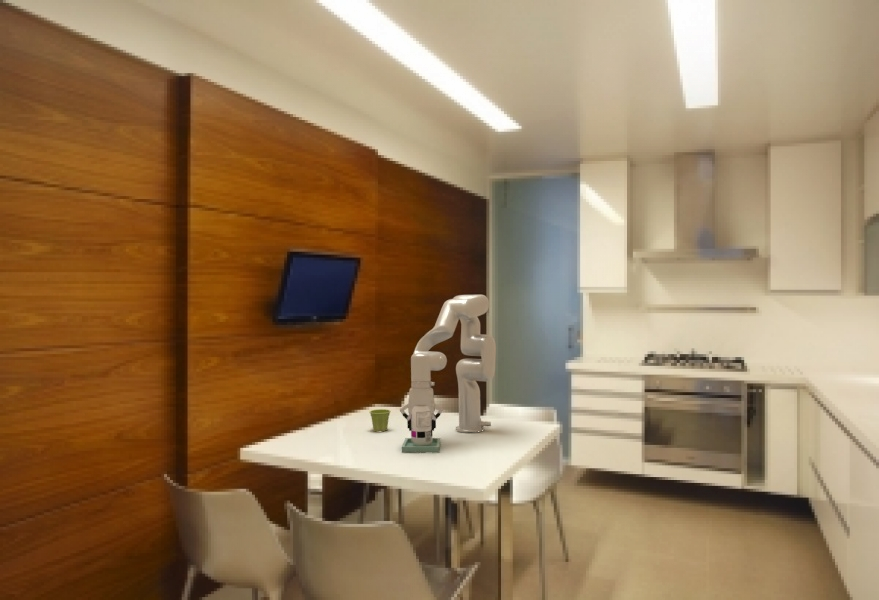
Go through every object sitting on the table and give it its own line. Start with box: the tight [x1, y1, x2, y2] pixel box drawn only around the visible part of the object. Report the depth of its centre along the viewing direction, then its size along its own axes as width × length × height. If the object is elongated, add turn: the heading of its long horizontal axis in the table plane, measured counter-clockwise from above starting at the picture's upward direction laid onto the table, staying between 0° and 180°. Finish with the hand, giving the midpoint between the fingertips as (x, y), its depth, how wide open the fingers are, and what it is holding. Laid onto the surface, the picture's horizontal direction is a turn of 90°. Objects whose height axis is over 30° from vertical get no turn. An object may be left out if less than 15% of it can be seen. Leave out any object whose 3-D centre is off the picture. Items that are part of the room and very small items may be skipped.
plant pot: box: [369, 408, 391, 432], centre depth 241 cm, size 9×9×9 cm
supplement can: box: [410, 406, 434, 446], centre depth 210 cm, size 8×8×15 cm
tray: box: [401, 437, 441, 454], centre depth 209 cm, size 14×14×2 cm
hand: (421, 429), depth 210 cm, fingers closed on supplement can, 8 cm apart
